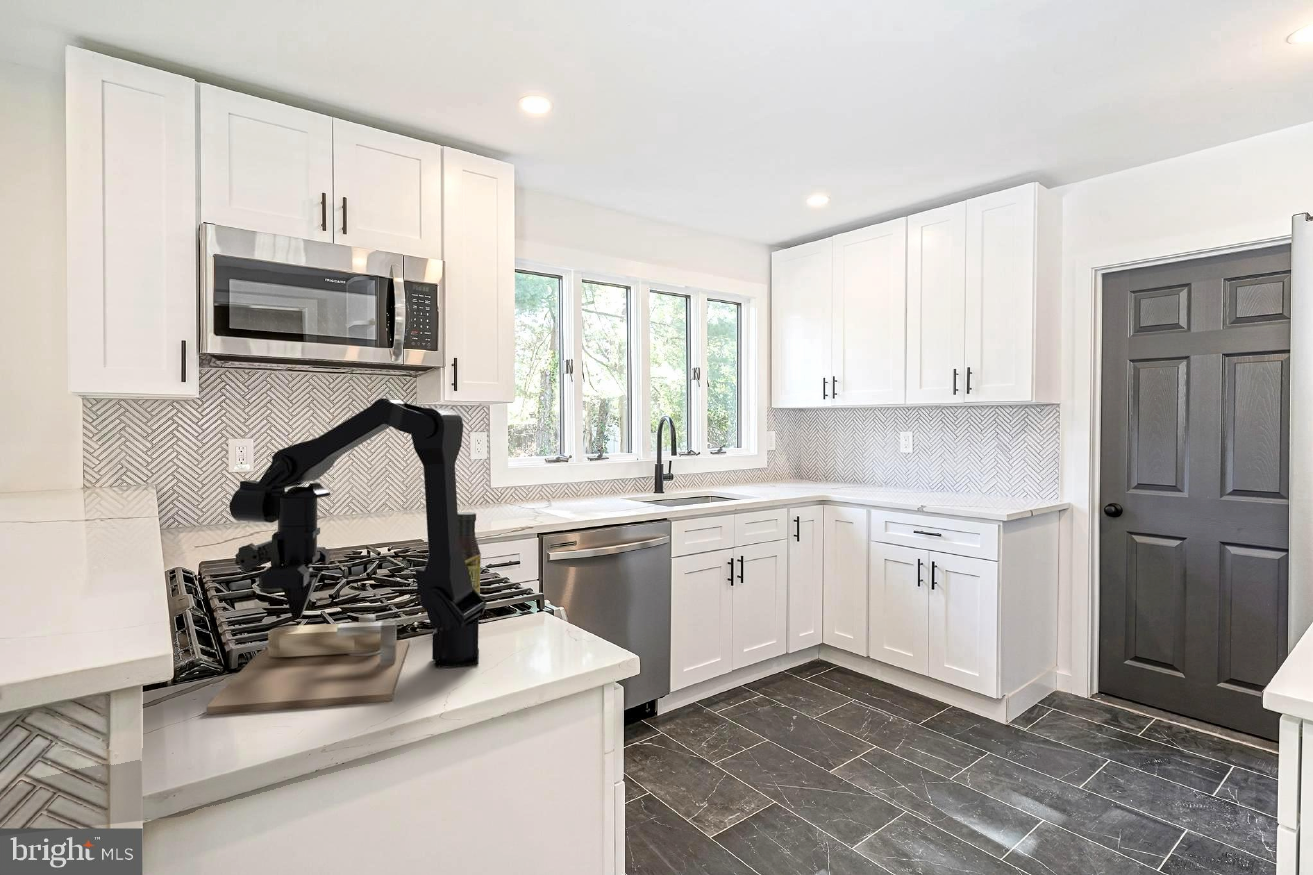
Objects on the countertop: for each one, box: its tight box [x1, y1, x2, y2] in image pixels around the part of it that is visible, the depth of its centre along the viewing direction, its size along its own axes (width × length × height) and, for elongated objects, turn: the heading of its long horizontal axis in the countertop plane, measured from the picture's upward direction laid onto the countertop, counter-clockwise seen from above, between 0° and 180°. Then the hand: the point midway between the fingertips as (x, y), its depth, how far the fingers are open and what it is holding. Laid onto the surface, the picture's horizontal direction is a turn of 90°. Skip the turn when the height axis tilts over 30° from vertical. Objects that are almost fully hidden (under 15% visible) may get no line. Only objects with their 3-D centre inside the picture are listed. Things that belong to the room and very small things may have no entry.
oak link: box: [267, 620, 381, 657], centre depth 105 cm, size 16×5×4 cm, turn 104°
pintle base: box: [205, 613, 411, 716], centre depth 98 cm, size 22×22×7 cm
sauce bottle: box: [458, 511, 482, 596], centre depth 129 cm, size 6×6×20 cm
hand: (296, 618), depth 110 cm, fingers closed
